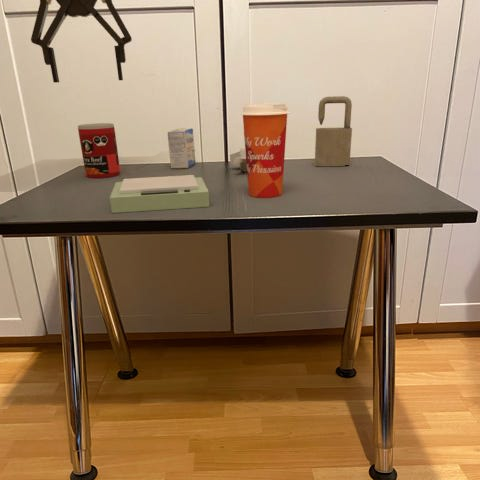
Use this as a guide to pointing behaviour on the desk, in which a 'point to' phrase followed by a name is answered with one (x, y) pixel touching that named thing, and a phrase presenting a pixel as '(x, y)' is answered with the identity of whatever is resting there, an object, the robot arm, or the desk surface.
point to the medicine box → (181, 148)
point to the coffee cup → (265, 147)
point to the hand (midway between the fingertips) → (89, 81)
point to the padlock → (333, 137)
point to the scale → (159, 194)
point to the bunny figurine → (239, 159)
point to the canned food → (99, 150)
